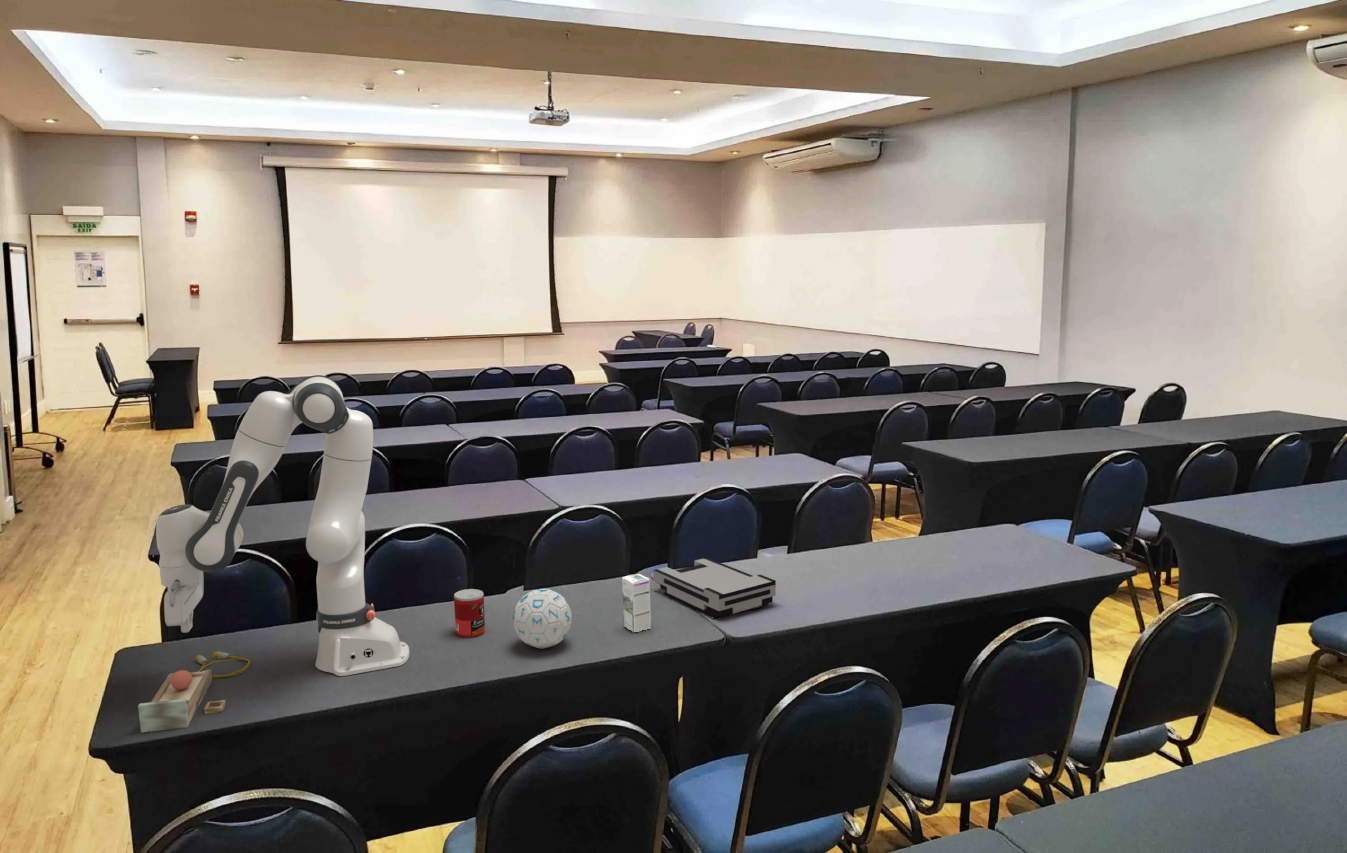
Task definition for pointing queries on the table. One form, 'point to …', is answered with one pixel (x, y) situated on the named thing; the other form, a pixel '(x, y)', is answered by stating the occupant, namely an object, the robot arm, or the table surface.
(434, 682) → the table surface
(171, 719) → the tray
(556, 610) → the puzzle ball
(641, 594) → the syrup box
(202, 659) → the extension cord
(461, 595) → the canned food
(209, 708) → the hollow square frame
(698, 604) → the game console
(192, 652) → the table surface
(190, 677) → the ball
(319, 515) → the robot arm
